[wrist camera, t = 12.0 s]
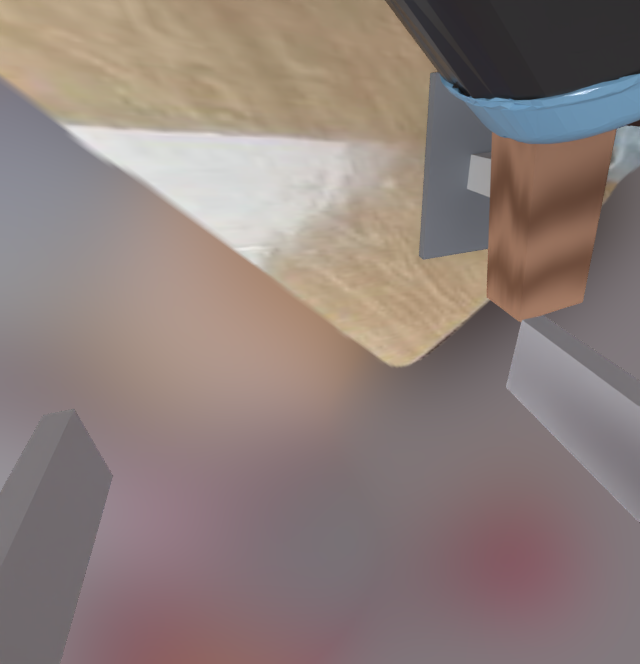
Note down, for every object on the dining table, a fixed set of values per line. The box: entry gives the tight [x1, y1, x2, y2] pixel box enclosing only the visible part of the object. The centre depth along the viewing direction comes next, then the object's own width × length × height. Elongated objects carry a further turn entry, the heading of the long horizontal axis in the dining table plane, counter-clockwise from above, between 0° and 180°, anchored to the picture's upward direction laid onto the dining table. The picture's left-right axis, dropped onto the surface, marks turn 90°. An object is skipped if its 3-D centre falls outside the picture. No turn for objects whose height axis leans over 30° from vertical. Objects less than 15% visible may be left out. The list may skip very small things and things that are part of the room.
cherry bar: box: [487, 129, 616, 322], centre depth 30 cm, size 20×6×5 cm, turn 12°
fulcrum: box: [419, 72, 492, 260], centre depth 34 cm, size 16×12×6 cm
